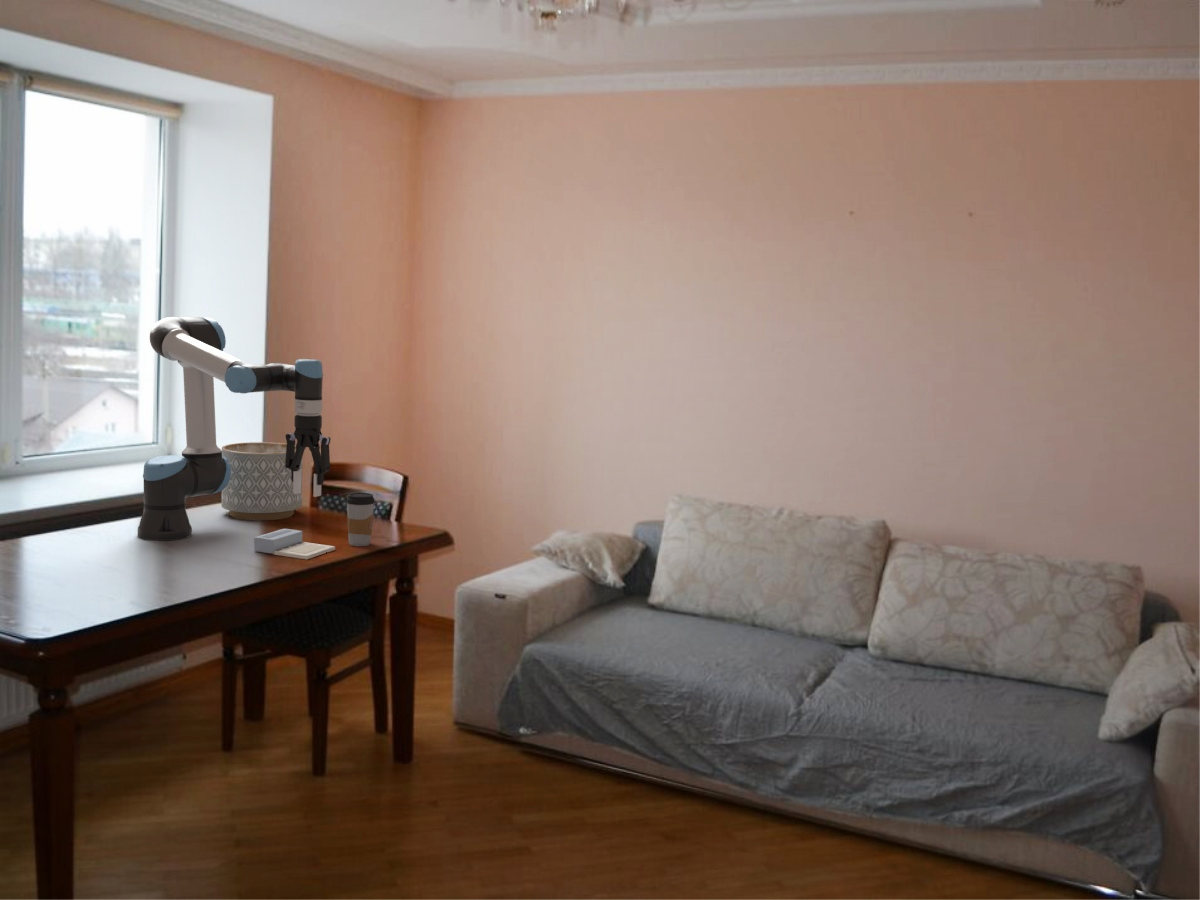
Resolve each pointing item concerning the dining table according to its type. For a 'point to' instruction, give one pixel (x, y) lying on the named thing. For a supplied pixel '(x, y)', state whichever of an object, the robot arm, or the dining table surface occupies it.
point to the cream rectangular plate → (304, 550)
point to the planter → (259, 482)
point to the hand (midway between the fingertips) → (307, 494)
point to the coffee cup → (360, 518)
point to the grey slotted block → (277, 540)
